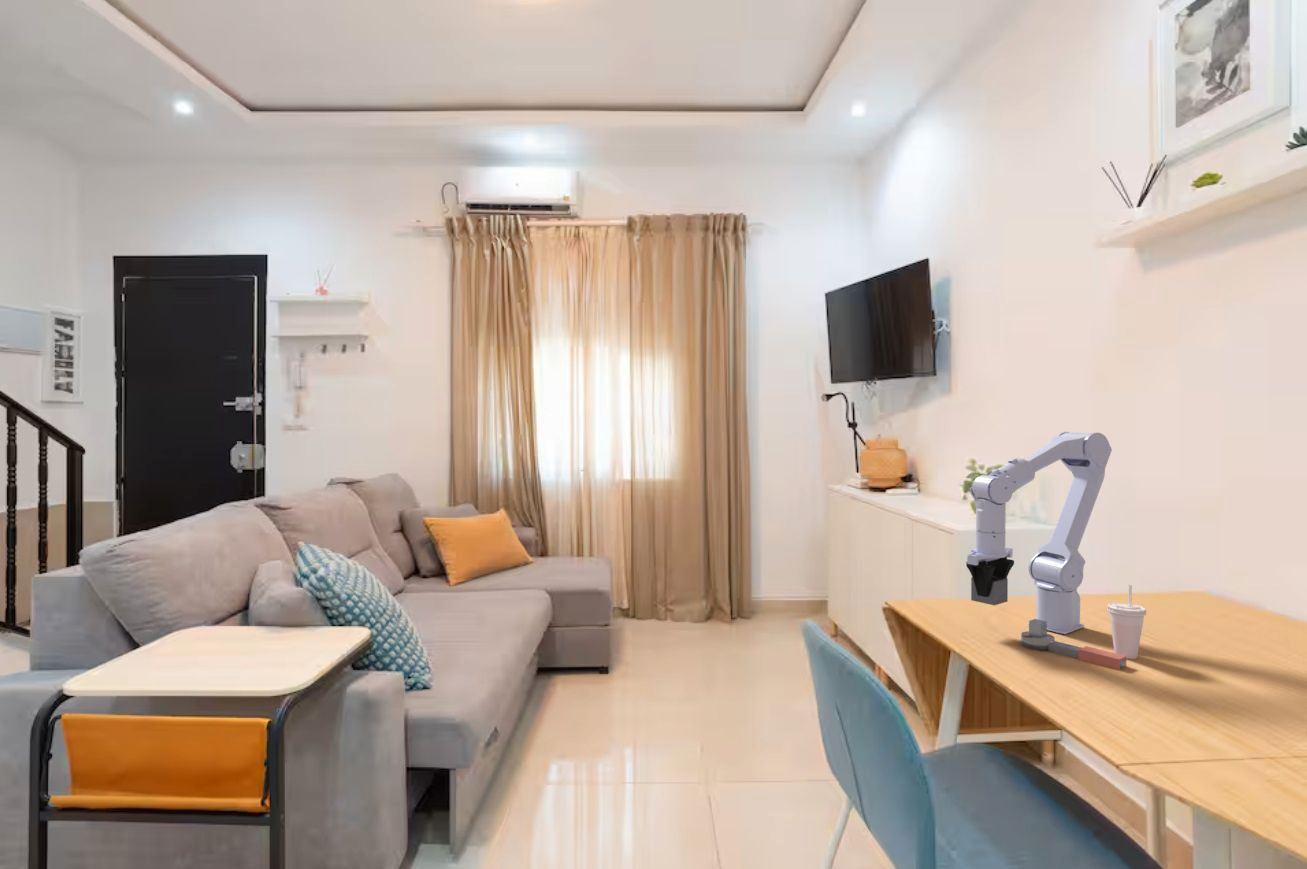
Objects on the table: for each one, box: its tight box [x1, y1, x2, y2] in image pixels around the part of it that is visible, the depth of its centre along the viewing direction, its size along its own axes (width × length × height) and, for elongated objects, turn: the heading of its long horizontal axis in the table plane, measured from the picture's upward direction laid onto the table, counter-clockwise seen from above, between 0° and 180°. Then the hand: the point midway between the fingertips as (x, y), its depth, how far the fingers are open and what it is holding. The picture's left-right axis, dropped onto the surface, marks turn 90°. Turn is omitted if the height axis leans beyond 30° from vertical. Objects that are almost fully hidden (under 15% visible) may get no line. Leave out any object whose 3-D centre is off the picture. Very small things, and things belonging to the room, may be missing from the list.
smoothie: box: [1106, 584, 1147, 660], centre depth 139 cm, size 6×6×14 cm
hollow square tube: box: [970, 576, 1009, 606], centre depth 153 cm, size 5×5×5 cm
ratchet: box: [1020, 618, 1127, 671], centre depth 140 cm, size 18×6×5 cm, turn 36°
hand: (990, 593), depth 153 cm, fingers closed on hollow square tube, 5 cm apart
